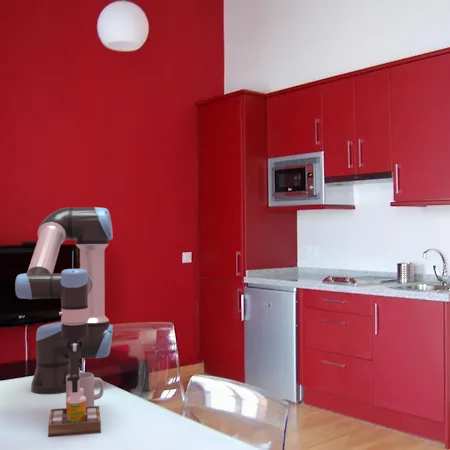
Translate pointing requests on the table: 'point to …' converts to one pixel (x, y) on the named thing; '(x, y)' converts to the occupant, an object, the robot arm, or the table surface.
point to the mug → (87, 387)
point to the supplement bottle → (76, 409)
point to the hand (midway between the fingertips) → (75, 396)
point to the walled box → (61, 427)
